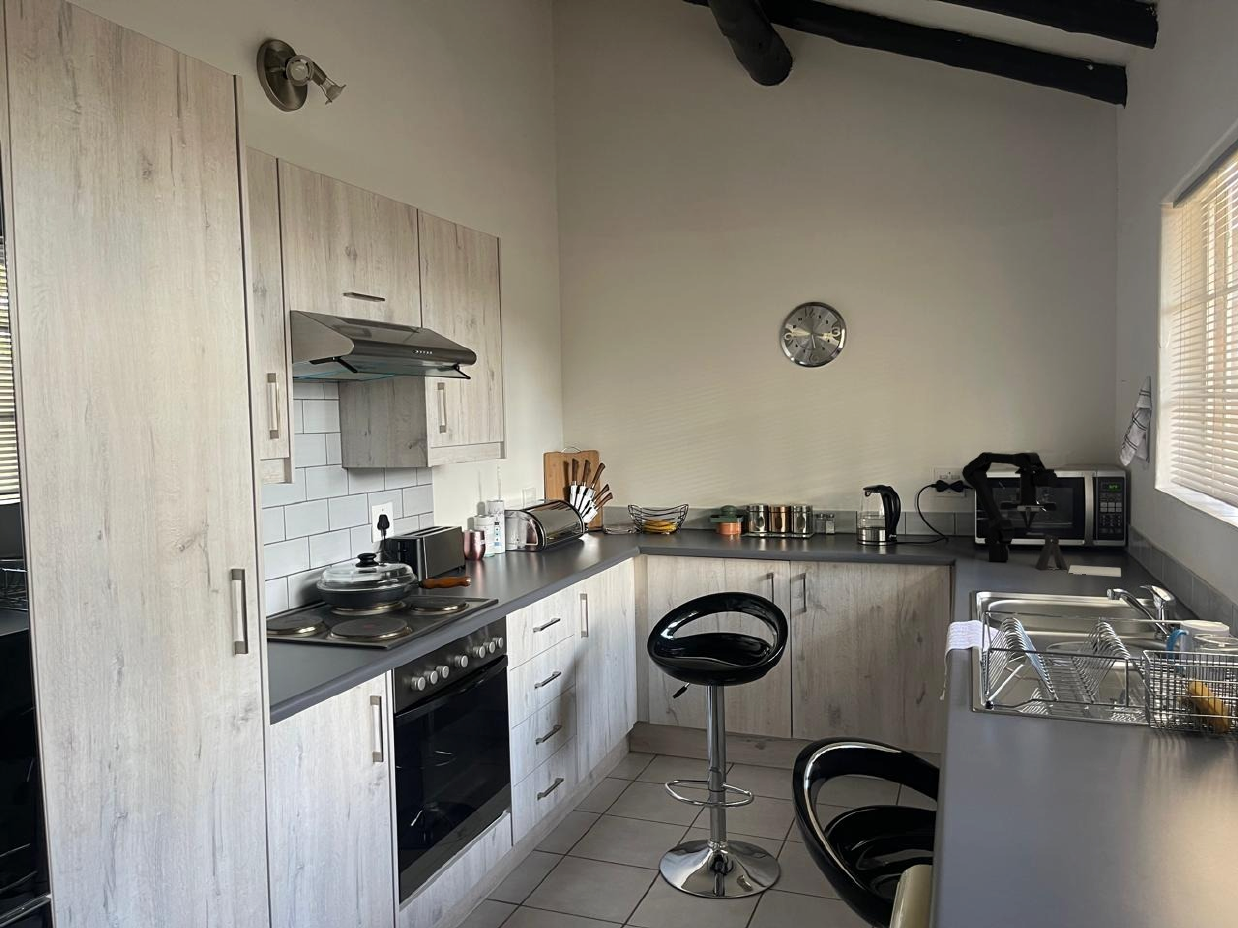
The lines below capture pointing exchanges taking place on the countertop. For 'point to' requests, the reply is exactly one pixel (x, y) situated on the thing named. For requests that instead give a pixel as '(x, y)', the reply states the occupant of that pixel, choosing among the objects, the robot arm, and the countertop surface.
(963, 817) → the countertop surface
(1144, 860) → the countertop surface
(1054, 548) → the phone stand
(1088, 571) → the mat
